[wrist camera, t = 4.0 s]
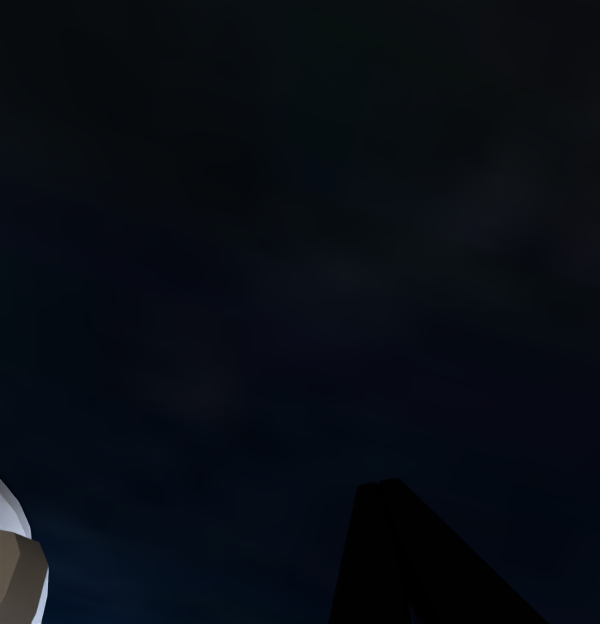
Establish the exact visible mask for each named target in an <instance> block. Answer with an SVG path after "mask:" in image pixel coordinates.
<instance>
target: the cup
mask: <svg viewBox="0 0 600 624" xmlns="http://www.w3.org/2000/svg"><path fill="white" fill-rule="evenodd" d="M48 568H49V566H48V563H47V561H46V558H45V556H44V553H43V550H42V548H41V545H40V543H39V542H37V541H34V540H32V539H31V530H30V526H29V523H28V521H27V519H26V517H25V514H24V512H23V510H22V507H21V505H20V503H19V501H18V500H17V499H16V498H15V496H14V495H13V494H12V493H11V491H10V490H9V489H8V488H7V486H6V485H5V484H4V483H3V482H2V480H1V479H0V624H41V620H42V616H43V612H44V608H45V603H46V599H47V592H48Z"/></svg>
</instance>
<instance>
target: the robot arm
mask: <svg viewBox="0 0 600 624" xmlns="http://www.w3.org/2000/svg"><path fill="white" fill-rule="evenodd" d="M409 608H410V610H409ZM410 612H411V615H412V618H413V621H414V624H548V623H547V622H546V621H545V620H544V619H543V618H542V617H541V616H540V615H539V614H538V613H537V612H536V611H535V610H534V609H533V608H532V607H531V606H530V605H529V604H528V603H527V602H526V601H525V600H524V599H523V598H522V597H521V596H520V595H519V594H518V593H517V592H516V591H515V590H514V589H512V588H511V587H510V586H509V585H508V584H507V583H506V582H505V581H504V580H503V579H502V578H501V577H500V576H499V575H498V574H497V573H496V572H495V571H494V570H493V569H492V568H491V567H490V566H489V565H488V564H487V563H486V562H485V561H484V560H483V559H482V558H481V557H480V556H479V555H478V554H477V553H476V552H475V551H473V550H472V549H471V548H470V547H469V546H468V545H467V544H466V543H465V542H464V541H463V540H462V539H461V538H460V537H459V536H458V535H457V534H456V533H455V532H454V531H453V530H452V529H451V528H450V527H449V526H448V525H447V524H446V523H445V522H444V521H443V520H442V519H441V518H440V517H439V516H438V515H437V514H436V513H435V512H433V511H432V510H431V509H430V508H429V507H428V506H427V505H426V504H425V503H424V502H423V501H422V500H421V499H420V498H419V497H418V496H417V495H416V494H415V493H414V492H413V491H412V490H411V489H410V488H409V487H408V486H407V485H406V484H405V483H404V482H403V481H402V480H400V479H399V478H392V479H387V480H382V481H380V482H379V484H378V483H377V482H371V483H366V484H361V485H359V486H358V487H357V490H356V495H355V500H354V505H353V509H352V514H351V519H350V523H349V528H348V533H347V538H346V542H345V547H344V552H343V556H342V561H341V566H340V571H339V575H338V580H337V585H336V589H335V594H334V599H333V604H332V608H331V613H330V618H329V622H328V624H412V621H411V615H410Z"/></svg>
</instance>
